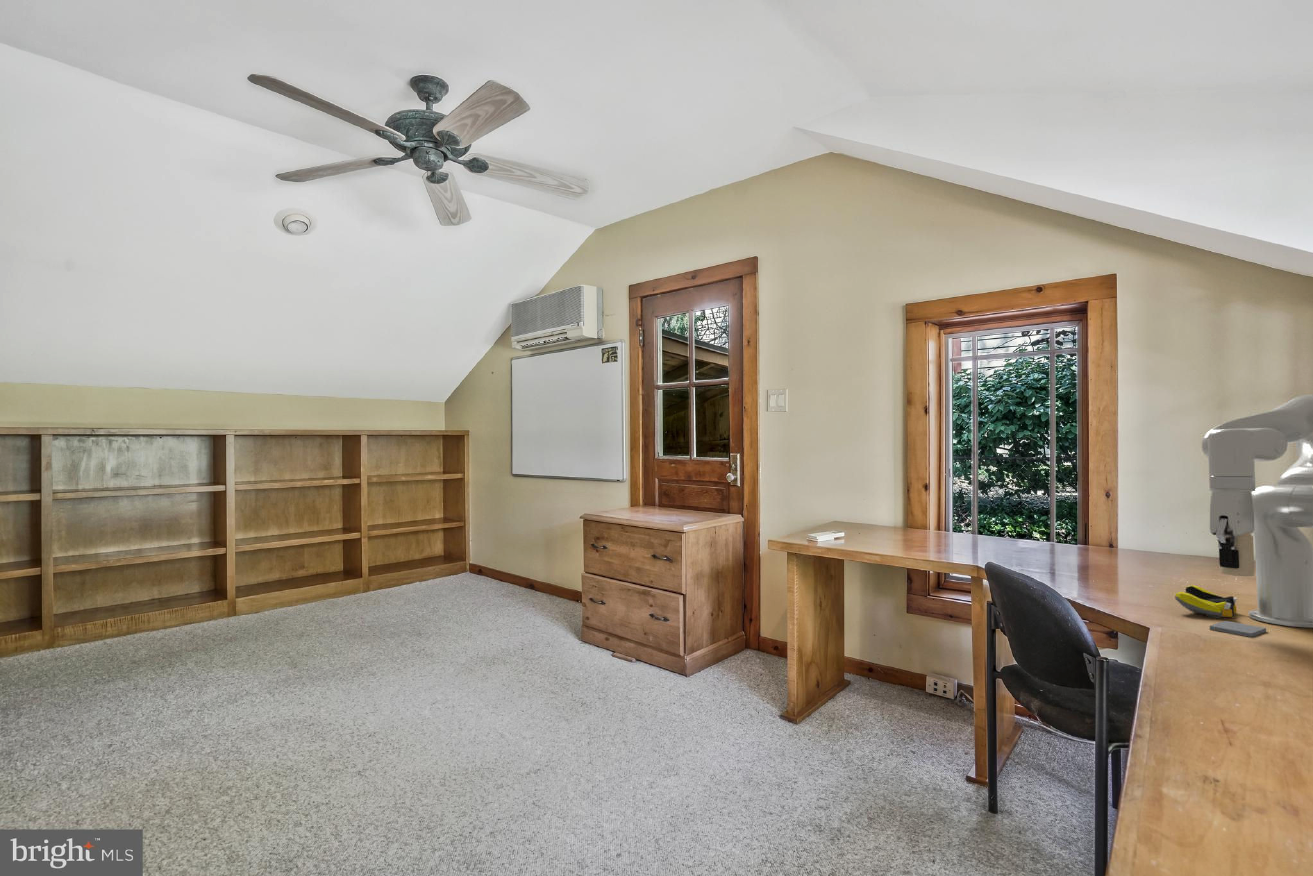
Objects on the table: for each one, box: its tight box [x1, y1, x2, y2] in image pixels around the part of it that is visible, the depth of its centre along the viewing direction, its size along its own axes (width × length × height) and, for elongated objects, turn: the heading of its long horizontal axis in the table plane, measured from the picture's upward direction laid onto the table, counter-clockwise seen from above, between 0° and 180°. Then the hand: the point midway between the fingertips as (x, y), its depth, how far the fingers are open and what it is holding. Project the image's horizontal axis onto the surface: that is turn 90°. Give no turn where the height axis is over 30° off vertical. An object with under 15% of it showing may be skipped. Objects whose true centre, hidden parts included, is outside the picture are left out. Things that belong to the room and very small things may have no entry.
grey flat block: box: [1209, 620, 1267, 638], centre depth 137 cm, size 8×7×1 cm
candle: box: [1219, 532, 1255, 577], centre depth 138 cm, size 6×6×10 cm
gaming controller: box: [1174, 584, 1238, 619], centre depth 153 cm, size 15×6×10 cm
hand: (1235, 565), depth 138 cm, fingers closed on candle, 5 cm apart
